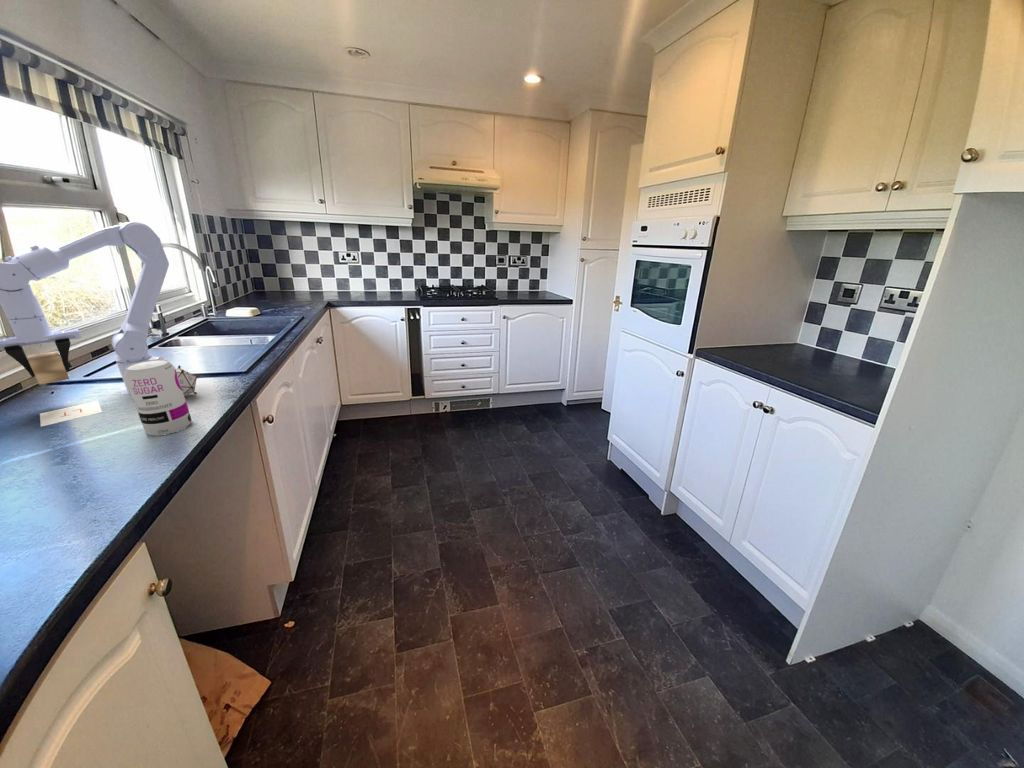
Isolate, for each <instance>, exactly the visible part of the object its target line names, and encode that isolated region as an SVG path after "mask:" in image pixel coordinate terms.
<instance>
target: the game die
mask: <svg viewBox="0 0 1024 768" xmlns="http://www.w3.org/2000/svg"><path fill="white" fill-rule="evenodd" d="M175 369H176V372H177V375H178V379H179V382H180V385H181V388H182V391H183V394H184V397H185V396H188V395H191V394H194V395H197V394H198V392H196V391H195V389H196V385H197V379H198V378H200V377H201V374H198V375H195V374H193V373H191V372H188V370H184V369H182V367H181V365H180V364H179V365H178V366H177V368H175Z"/></svg>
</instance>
